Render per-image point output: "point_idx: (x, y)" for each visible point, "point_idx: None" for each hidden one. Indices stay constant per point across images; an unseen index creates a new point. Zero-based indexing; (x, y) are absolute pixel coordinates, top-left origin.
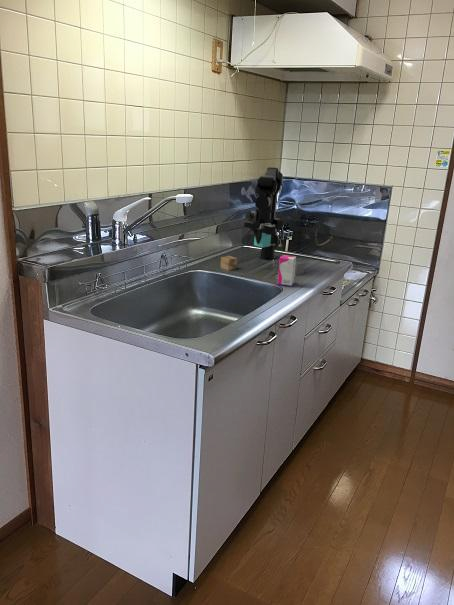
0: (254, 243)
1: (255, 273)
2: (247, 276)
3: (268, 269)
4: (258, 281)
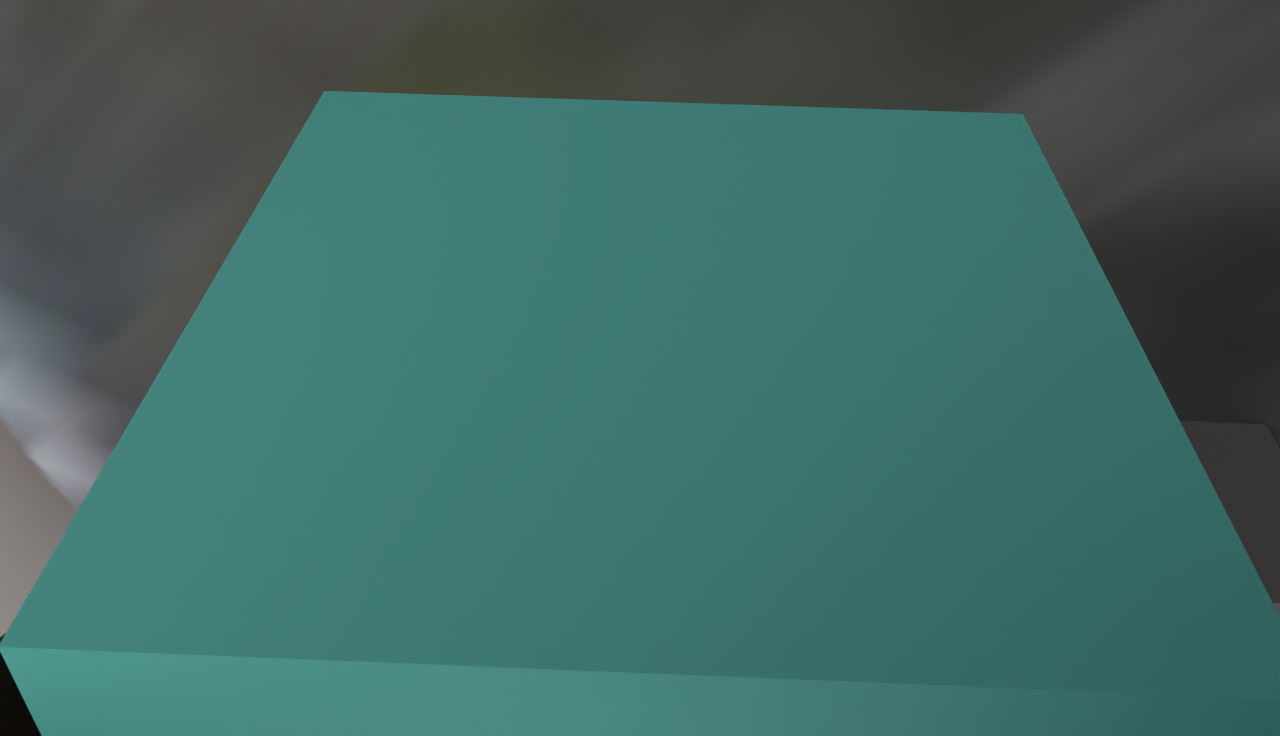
0: (295, 178)
1: (349, 83)
2: (10, 150)
3: (943, 12)
4: (54, 465)
